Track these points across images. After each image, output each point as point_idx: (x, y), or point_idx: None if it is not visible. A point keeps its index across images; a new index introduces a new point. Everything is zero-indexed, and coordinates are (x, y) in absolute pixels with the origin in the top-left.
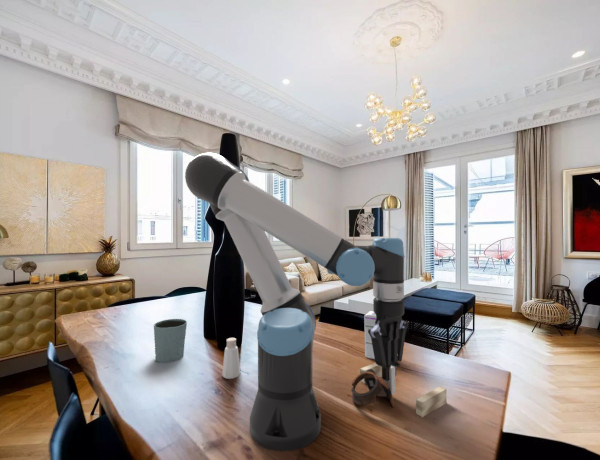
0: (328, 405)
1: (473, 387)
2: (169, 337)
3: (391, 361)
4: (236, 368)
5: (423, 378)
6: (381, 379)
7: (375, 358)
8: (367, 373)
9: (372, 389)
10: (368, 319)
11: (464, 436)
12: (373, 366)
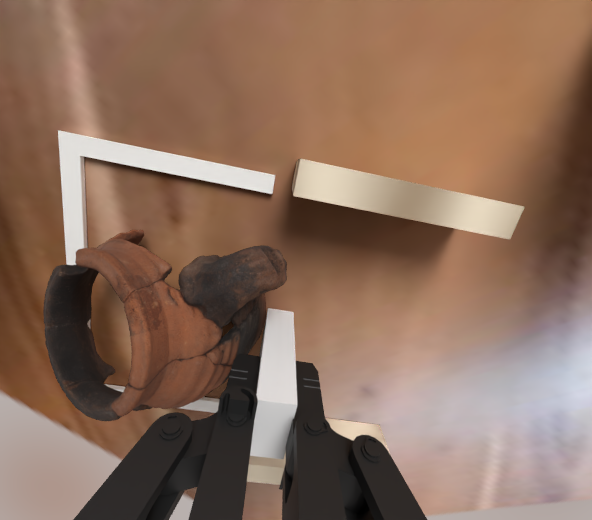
0: (26, 163)
1: (536, 456)
2: None
3: (288, 463)
4: None
5: (515, 338)
6: (180, 392)
7: (119, 471)
8: (131, 338)
9: (70, 397)
10: None
11: (267, 494)
12: (386, 209)
